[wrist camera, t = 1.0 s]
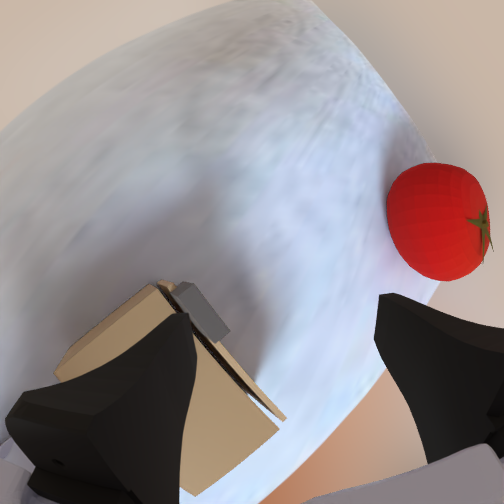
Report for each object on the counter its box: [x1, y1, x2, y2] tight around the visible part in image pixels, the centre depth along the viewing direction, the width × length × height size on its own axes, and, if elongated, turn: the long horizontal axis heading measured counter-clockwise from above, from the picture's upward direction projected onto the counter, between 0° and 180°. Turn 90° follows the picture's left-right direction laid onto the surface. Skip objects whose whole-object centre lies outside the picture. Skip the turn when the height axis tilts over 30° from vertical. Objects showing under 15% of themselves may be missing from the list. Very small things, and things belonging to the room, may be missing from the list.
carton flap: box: [157, 280, 287, 422], centre depth 19 cm, size 1×12×8 cm, turn 36°
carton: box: [53, 284, 279, 497], centre depth 19 cm, size 8×13×6 cm, turn 36°
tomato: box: [387, 163, 493, 281], centre depth 28 cm, size 12×14×12 cm
